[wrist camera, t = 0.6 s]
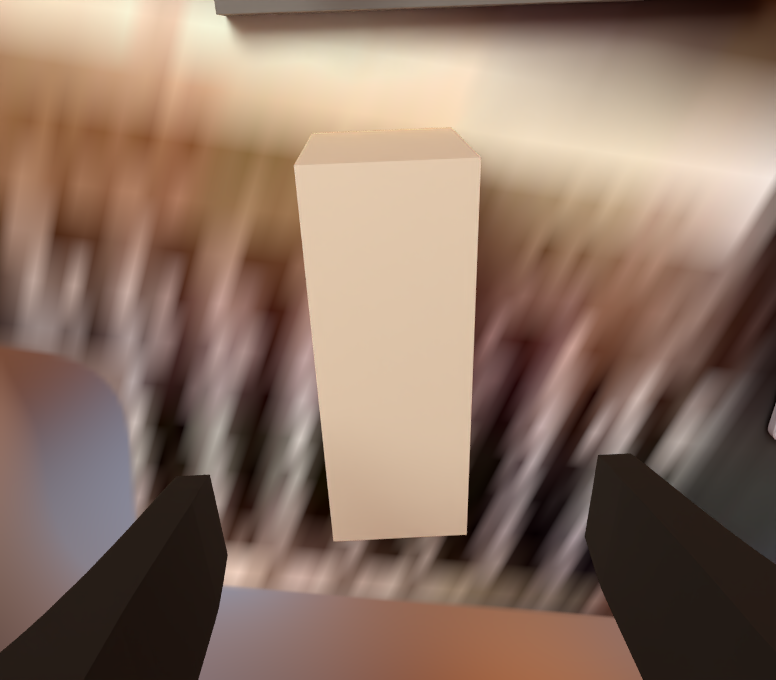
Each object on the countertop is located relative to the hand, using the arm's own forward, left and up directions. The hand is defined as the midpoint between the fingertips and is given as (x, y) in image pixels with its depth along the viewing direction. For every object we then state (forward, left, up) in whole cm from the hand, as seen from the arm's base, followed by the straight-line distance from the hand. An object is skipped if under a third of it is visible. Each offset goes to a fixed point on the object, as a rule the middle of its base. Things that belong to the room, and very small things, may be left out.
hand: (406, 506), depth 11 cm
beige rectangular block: (0, 0, -10) cm, 10 cm away
